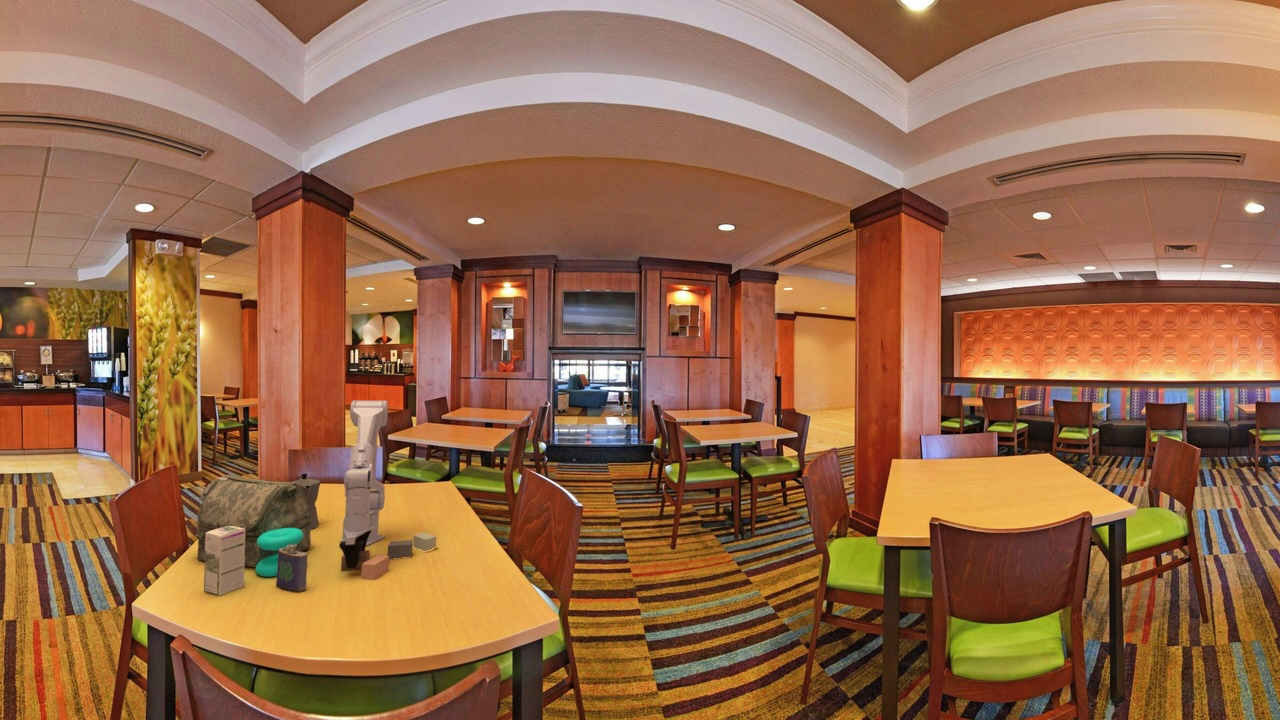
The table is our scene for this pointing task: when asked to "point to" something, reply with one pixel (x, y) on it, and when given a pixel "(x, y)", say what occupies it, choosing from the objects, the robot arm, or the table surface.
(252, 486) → the lunch bag
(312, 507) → the coffeepot
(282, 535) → the donuts
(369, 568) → the terracotta block
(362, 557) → the walnut block
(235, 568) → the syrup box
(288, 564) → the flask
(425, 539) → the sage block
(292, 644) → the table surface
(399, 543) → the charcoal block
